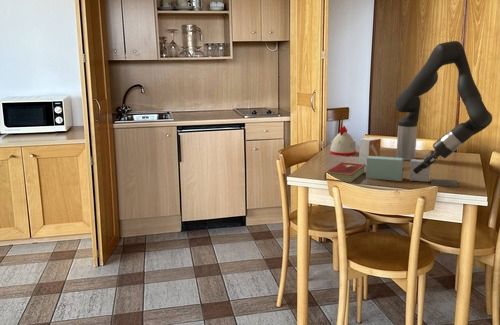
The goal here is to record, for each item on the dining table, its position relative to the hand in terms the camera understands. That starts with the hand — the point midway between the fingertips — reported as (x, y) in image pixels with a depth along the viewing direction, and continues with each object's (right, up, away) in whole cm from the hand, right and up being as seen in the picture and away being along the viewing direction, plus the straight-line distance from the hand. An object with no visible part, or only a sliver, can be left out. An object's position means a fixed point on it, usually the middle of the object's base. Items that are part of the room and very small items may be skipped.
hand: (415, 170), depth 205 cm
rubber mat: (+11, -5, -4) cm, 13 cm away
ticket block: (-12, -3, +5) cm, 13 cm away
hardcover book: (-28, -3, +11) cm, 30 cm away
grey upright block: (+2, -4, 0) cm, 5 cm away
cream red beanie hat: (-20, +8, +57) cm, 61 cm away
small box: (-12, +2, +31) cm, 33 cm away
